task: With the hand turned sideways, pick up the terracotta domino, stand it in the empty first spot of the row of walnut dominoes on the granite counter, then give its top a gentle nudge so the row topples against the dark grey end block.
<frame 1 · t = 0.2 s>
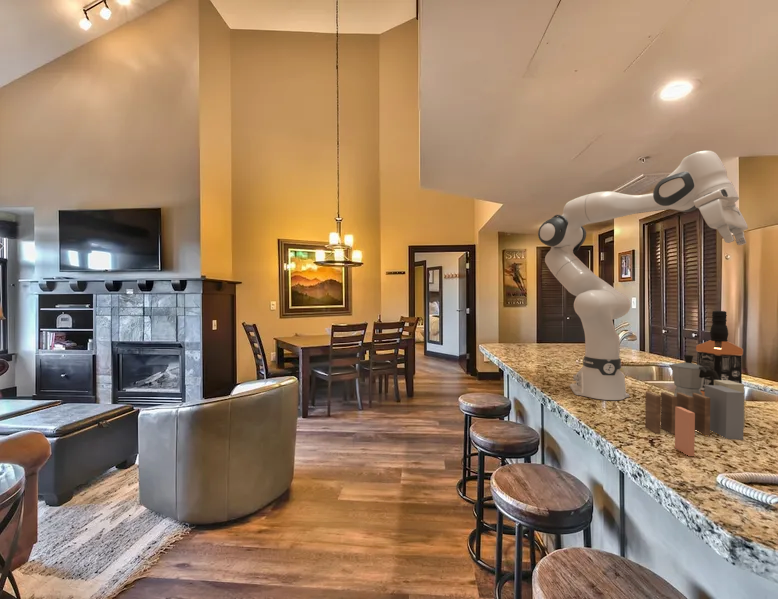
hand: (736, 243, 107), 52 cm above the countertop, tool tilted 20°, fingers open, 8 cm apart
whiskey bottle: (718, 404, 129), on the countertop
skincare box: (728, 424, 109), on the countertop
walnut domino 3: (668, 431, 102), on the countertop
walnut domino 2: (652, 430, 103), on the countertop
coffee maker: (691, 412, 120), on the countertop
end block: (722, 433, 101), on the countertop
walnut domino 5: (700, 432, 101), on the countertop
terracotta domino: (684, 452, 88), on the countertop
walnut domino 4: (684, 431, 102), on the countertop
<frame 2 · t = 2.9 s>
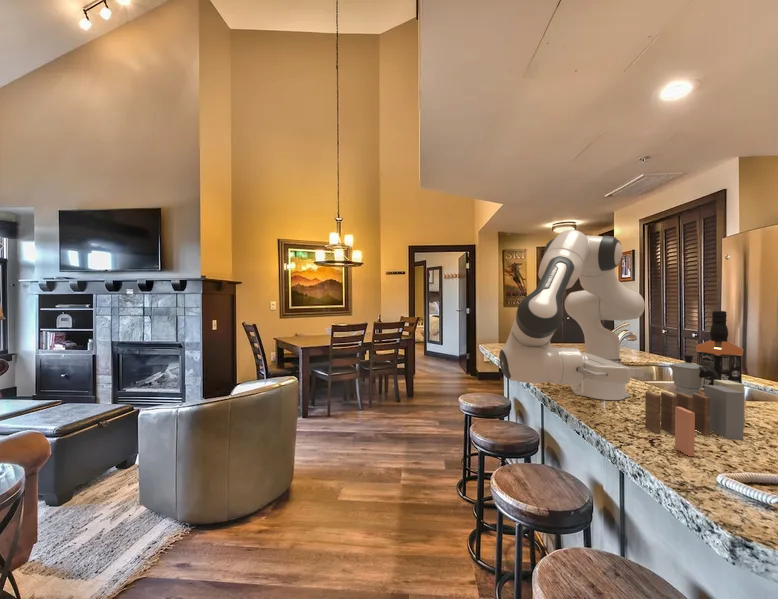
hand: (631, 368, 89), 19 cm above the countertop, tool horizontal, fingers open, 8 cm apart
nothing on the countertop moved.
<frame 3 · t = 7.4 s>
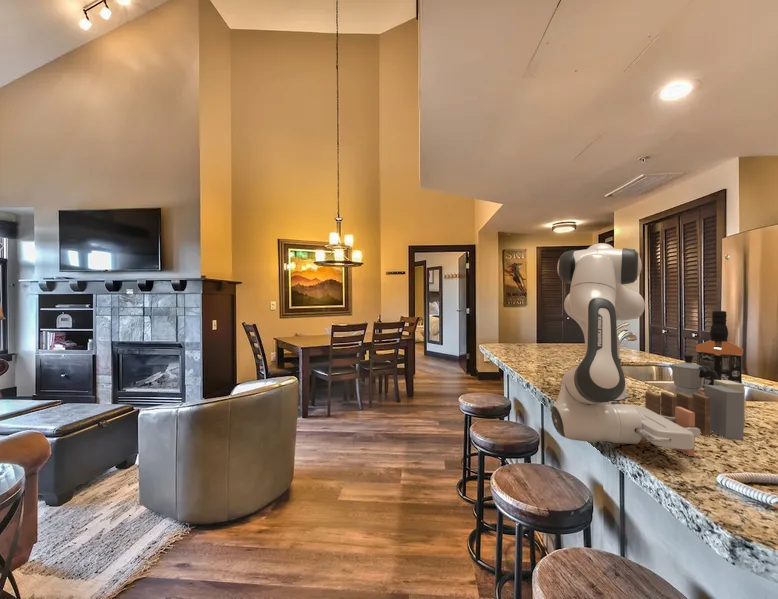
hand: (688, 426, 88), 6 cm above the countertop, tool horizontal, fingers closed on terracotta domino, 5 cm apart
terracotta domino: (684, 452, 88), on the countertop, touching gripper
everything else where it was.
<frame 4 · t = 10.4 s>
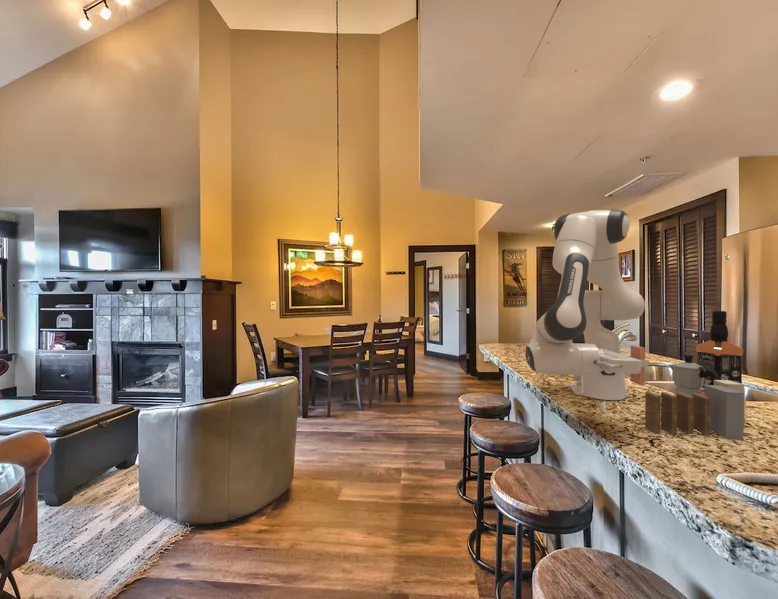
hand: (641, 361, 103), 19 cm above the countertop, tool horizontal, fingers closed on terracotta domino, 5 cm apart
terracotta domino: (637, 383, 103), point 13 cm above the countertop, touching gripper
everything else where it was.
when the fingers open (7 cm above the countertop, at t = 13.5 s): terracotta domino stays where it is, on the countertop.
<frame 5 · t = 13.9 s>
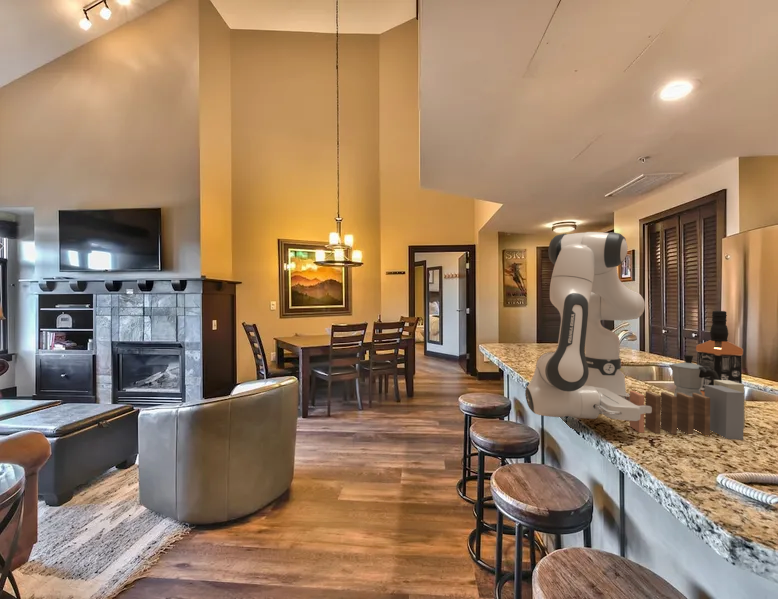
hand: (640, 404, 103), 7 cm above the countertop, tool horizontal, fingers open, 8 cm apart
terracotta domino: (636, 429, 103), on the countertop
everything else where it was.
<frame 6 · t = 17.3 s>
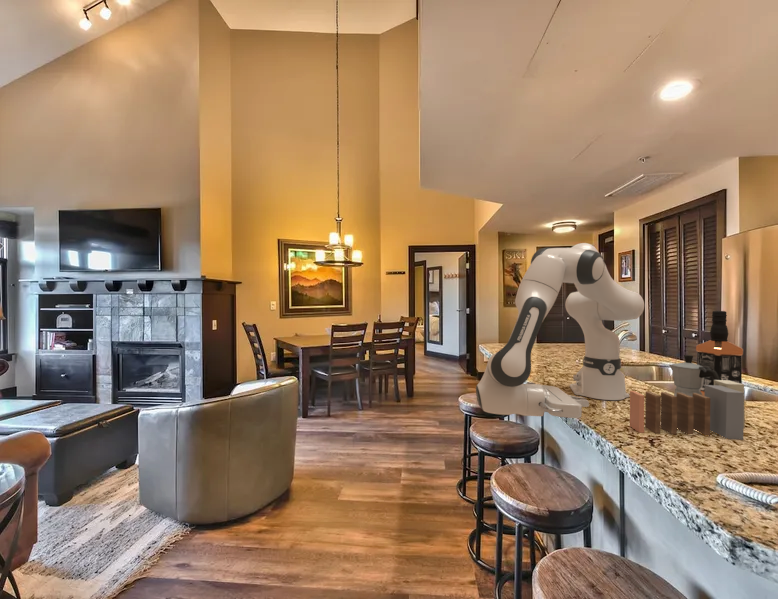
hand: (586, 402, 105), 7 cm above the countertop, tool horizontal, fingers closed
nothing on the countertop moved.
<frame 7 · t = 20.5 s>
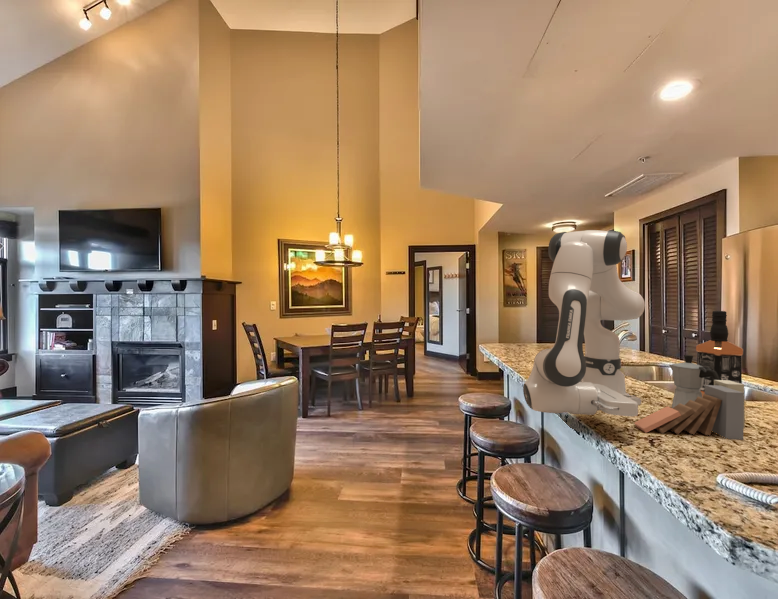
hand: (638, 400, 103), 8 cm above the countertop, tool horizontal, fingers closed
walnut domino 3: (670, 429, 102), on the countertop, tilted 43°, touching walnut domino 2, walnut domino 4
walnut domino 2: (655, 428, 103), on the countertop, tilted 52°, touching terracotta domino, walnut domino 3
walnut domino 5: (700, 432, 101), on the countertop, tilted 16°, touching end block, walnut domino 4
terracotta domino: (639, 427, 103), on the countertop, tilted 59°, touching walnut domino 2
walnut domino 4: (685, 430, 102), on the countertop, tilted 31°, touching walnut domino 3, walnut domino 5
everything else where it was.
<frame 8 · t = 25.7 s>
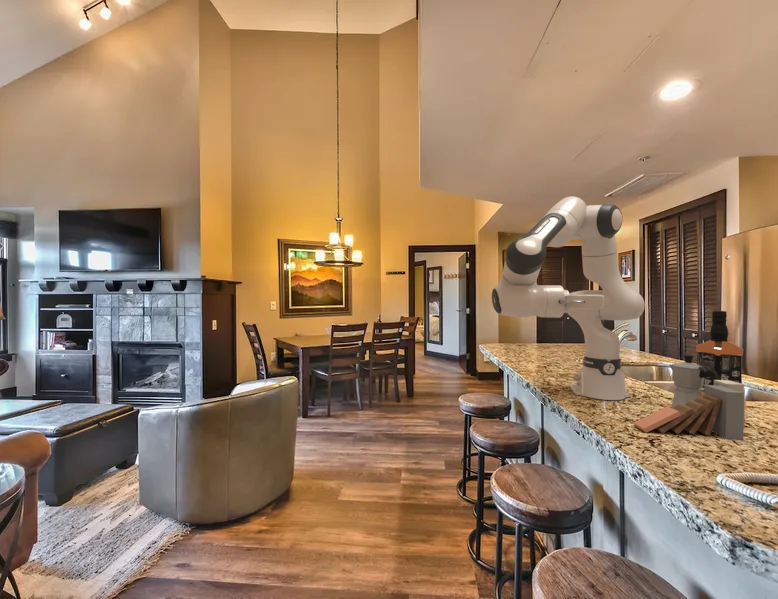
hand: (607, 301, 101), 35 cm above the countertop, tool horizontal, fingers closed
nothing on the countertop moved.
at the end: terracotta domino inside the target area (0.5 cm from its centre), point 0.5 cm above the countertop; walnut domino 5 tilted 16°; walnut domino 5 touching end block, countertop, walnut domino 4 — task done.
